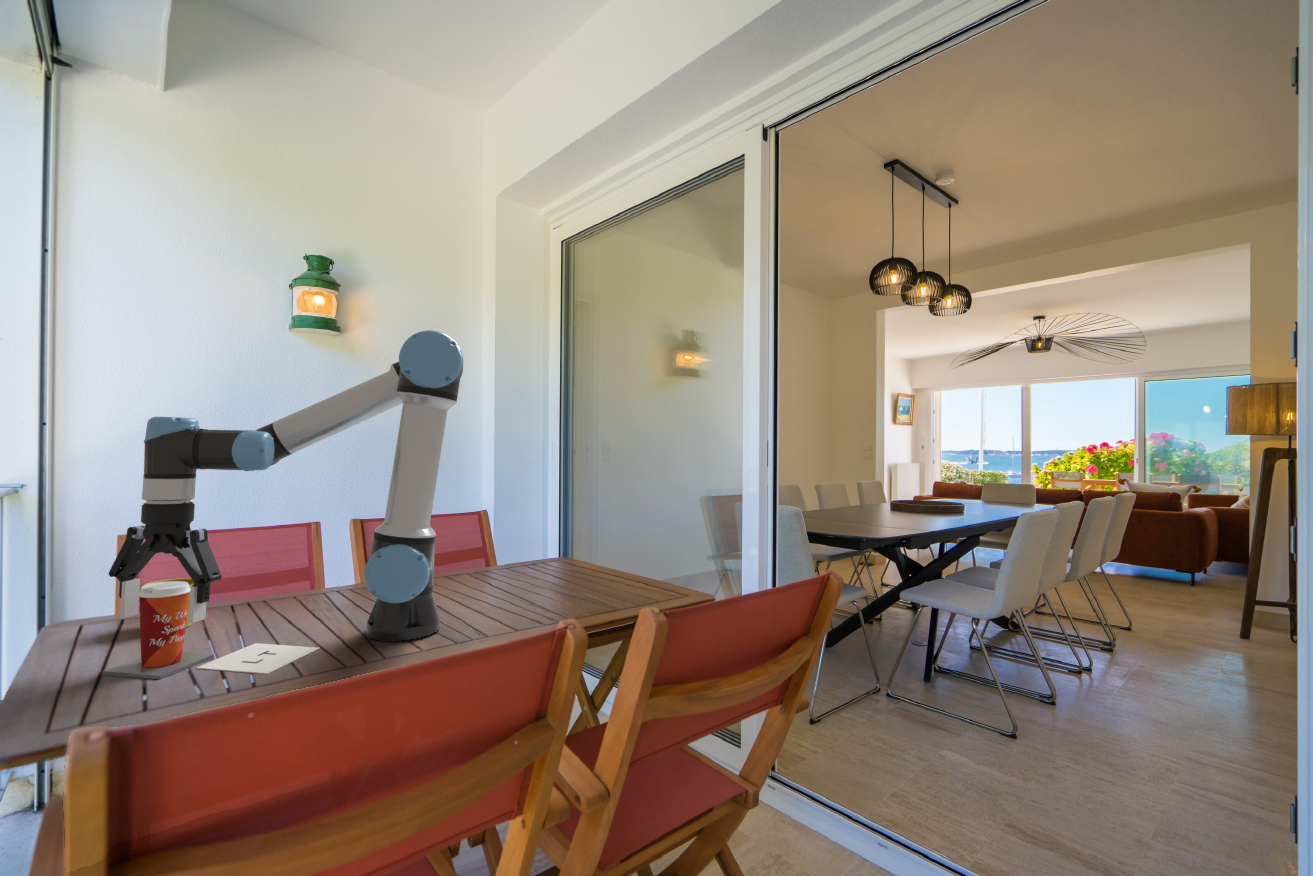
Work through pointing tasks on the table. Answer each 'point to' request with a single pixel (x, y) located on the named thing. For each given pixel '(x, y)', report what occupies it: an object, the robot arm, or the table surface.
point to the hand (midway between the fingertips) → (163, 618)
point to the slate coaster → (137, 670)
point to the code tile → (259, 658)
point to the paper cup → (163, 622)
